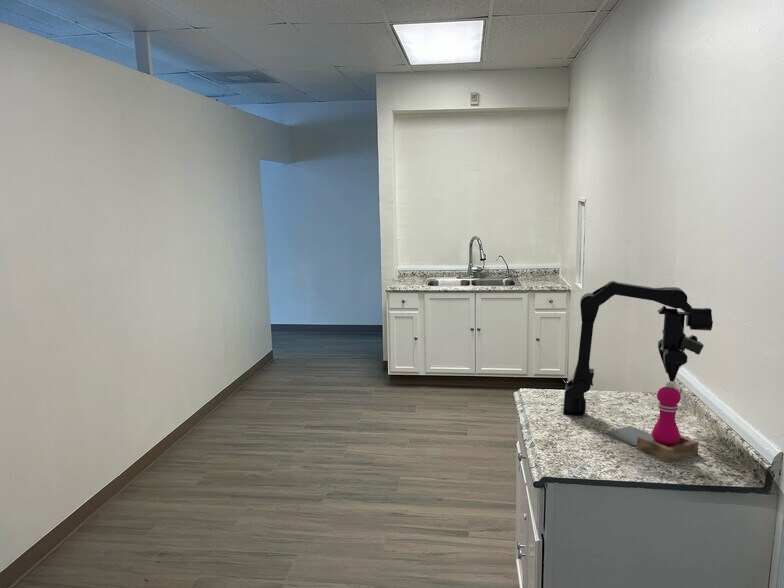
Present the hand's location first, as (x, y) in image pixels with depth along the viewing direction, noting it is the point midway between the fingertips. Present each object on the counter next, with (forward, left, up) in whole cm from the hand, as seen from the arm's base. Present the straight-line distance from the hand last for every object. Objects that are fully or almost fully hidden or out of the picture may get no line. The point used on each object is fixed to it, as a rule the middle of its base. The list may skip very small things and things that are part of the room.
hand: (670, 377), depth 190 cm
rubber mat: (-11, -16, -15) cm, 25 cm away
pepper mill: (-3, -24, -15) cm, 28 cm away
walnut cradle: (-3, -24, -15) cm, 28 cm away
